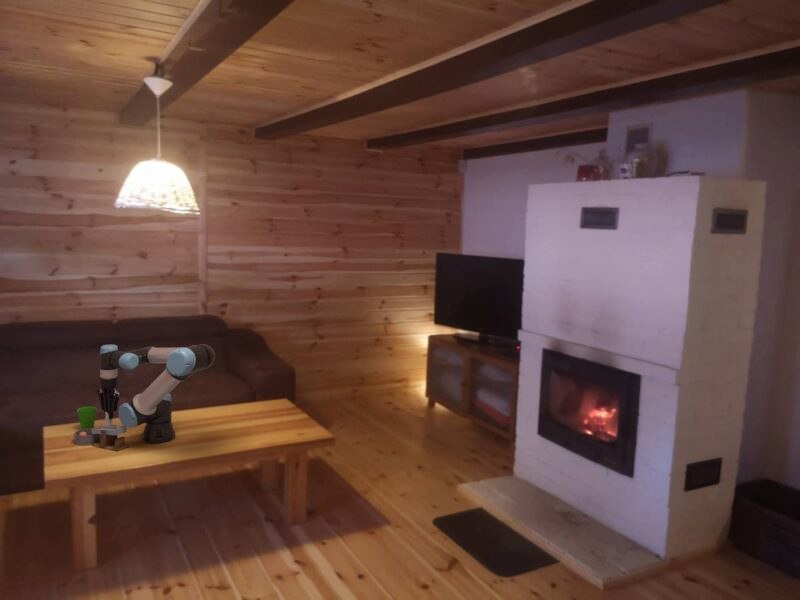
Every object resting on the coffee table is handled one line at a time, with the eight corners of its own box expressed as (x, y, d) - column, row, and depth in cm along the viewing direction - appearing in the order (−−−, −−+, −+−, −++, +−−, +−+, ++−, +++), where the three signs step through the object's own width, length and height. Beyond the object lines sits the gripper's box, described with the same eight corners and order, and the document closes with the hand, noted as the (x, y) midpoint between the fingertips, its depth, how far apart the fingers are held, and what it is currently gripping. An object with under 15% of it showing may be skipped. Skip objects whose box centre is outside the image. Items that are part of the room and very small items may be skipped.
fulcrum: (130, 446, 297) (130, 428, 296) (115, 452, 288) (115, 434, 287) (104, 440, 302) (104, 423, 301) (89, 446, 294) (89, 428, 293)
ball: (89, 436, 302) (86, 429, 303) (83, 438, 299) (80, 431, 299) (85, 438, 304) (82, 432, 304) (78, 441, 300) (76, 434, 301)
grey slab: (136, 428, 300) (136, 422, 300) (117, 435, 289) (117, 429, 289) (110, 426, 306) (110, 420, 306) (91, 433, 295) (90, 427, 295)
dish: (106, 439, 304) (106, 430, 303) (86, 446, 293) (86, 437, 293) (88, 435, 308) (88, 426, 307) (69, 442, 297) (68, 433, 297)
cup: (89, 434, 310) (89, 412, 309) (73, 432, 312) (72, 410, 310) (101, 428, 319) (101, 407, 317) (85, 426, 321) (85, 405, 319)
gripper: (125, 377, 301) (125, 425, 304) (104, 373, 306) (104, 420, 309) (113, 380, 294) (112, 429, 298) (92, 376, 299) (92, 424, 302)
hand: (108, 424), depth 303 cm, fingers closed
